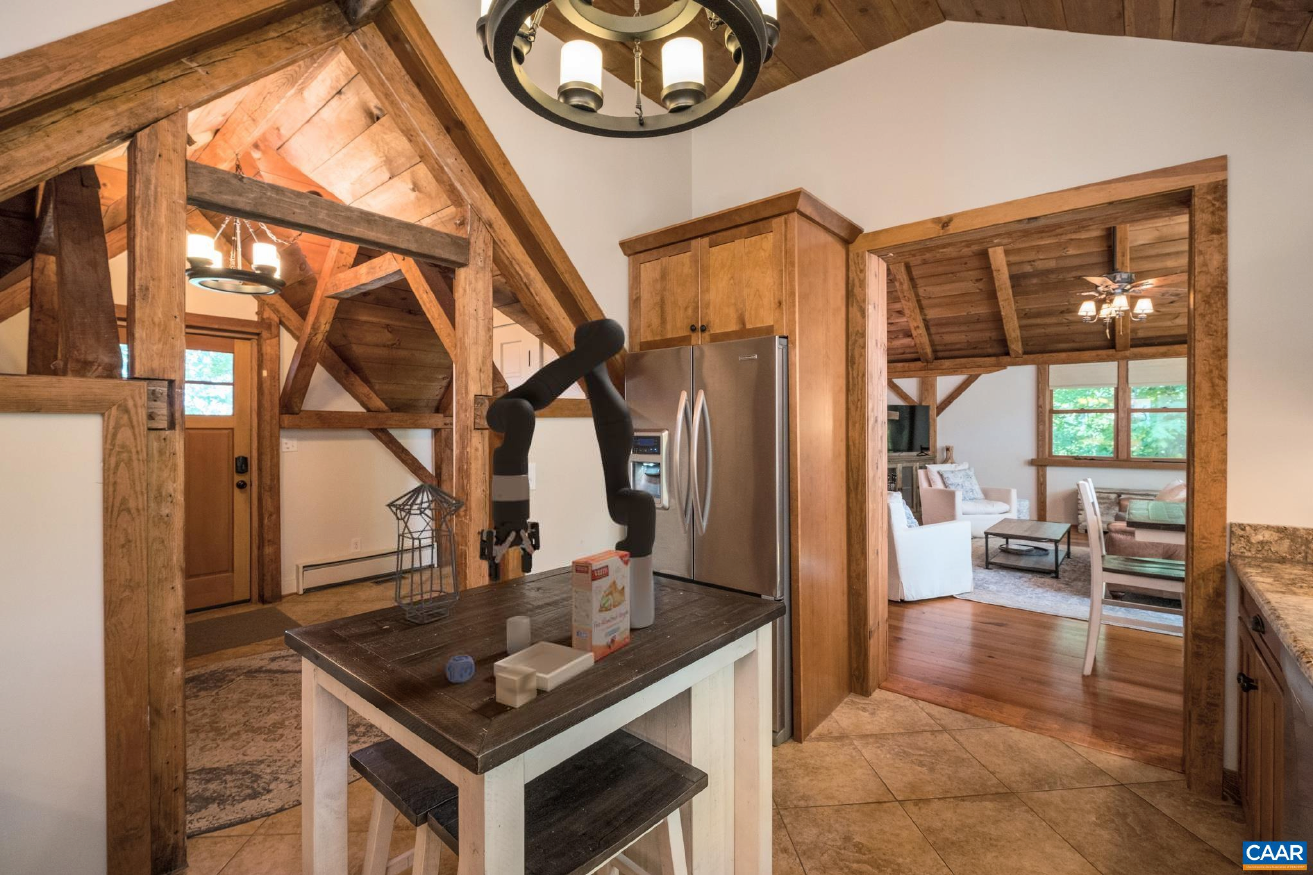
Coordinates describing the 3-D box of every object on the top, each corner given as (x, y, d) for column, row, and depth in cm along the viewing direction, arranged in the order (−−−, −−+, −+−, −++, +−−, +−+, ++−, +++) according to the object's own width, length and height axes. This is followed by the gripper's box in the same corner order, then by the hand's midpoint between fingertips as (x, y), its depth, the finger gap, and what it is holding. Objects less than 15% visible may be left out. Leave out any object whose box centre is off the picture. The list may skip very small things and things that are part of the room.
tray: (542, 652, 127) (542, 640, 127) (594, 664, 120) (593, 652, 120) (493, 675, 115) (493, 663, 115) (548, 691, 108) (547, 678, 108)
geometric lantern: (384, 618, 152) (382, 484, 152) (441, 604, 164) (438, 479, 163) (413, 631, 142) (411, 487, 141) (471, 615, 154) (469, 482, 153)
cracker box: (593, 664, 120) (592, 563, 120) (571, 659, 123) (569, 560, 123) (632, 643, 132) (630, 550, 132) (610, 638, 135) (609, 548, 135)
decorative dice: (445, 679, 114) (445, 658, 114) (464, 672, 117) (463, 652, 117) (456, 685, 112) (455, 664, 112) (475, 678, 115) (474, 657, 114)
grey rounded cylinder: (518, 645, 131) (518, 614, 131) (535, 649, 129) (534, 618, 129) (502, 653, 127) (501, 621, 127) (519, 657, 125) (518, 624, 125)
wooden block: (516, 691, 109) (516, 664, 109) (536, 697, 106) (536, 669, 106) (496, 701, 104) (495, 674, 104) (516, 708, 102) (516, 679, 102)
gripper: (496, 501, 111) (497, 586, 111) (548, 494, 123) (549, 572, 123) (470, 499, 115) (470, 581, 115) (523, 493, 127) (523, 567, 127)
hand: (511, 576), depth 119 cm, fingers open, 8 cm apart
